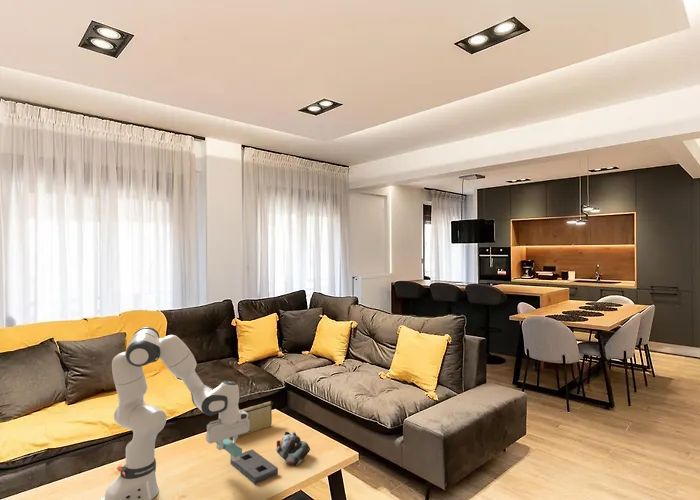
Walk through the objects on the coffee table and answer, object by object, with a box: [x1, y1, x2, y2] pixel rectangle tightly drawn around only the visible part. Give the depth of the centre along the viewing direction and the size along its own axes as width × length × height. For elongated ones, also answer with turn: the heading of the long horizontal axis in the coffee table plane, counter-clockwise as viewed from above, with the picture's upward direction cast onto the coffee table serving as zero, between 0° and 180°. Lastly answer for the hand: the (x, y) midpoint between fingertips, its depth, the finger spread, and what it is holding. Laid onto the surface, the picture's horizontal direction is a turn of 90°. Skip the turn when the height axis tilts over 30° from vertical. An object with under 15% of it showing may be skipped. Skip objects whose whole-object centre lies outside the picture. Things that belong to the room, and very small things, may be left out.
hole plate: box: [229, 449, 279, 486], centre depth 194 cm, size 12×24×3 cm, turn 43°
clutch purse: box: [228, 400, 274, 441], centre depth 234 cm, size 30×7×15 cm, turn 131°
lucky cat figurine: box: [275, 431, 311, 467], centre depth 203 cm, size 15×12×14 cm
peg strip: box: [215, 438, 243, 461], centre depth 186 cm, size 4×20×5 cm, turn 44°
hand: (228, 446), depth 186 cm, fingers closed on peg strip, 3 cm apart
